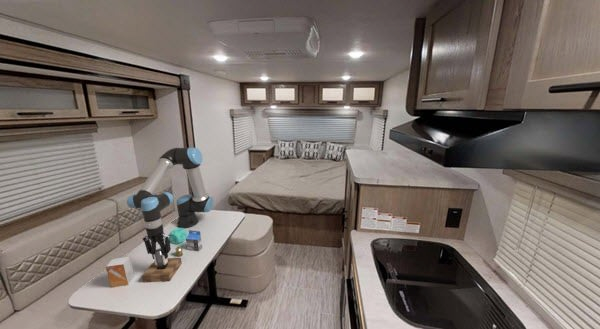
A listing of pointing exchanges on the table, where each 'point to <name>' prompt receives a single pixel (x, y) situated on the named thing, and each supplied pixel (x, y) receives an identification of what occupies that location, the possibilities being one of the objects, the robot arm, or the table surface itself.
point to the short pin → (179, 251)
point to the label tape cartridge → (194, 241)
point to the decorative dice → (178, 235)
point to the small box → (120, 271)
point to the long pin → (160, 259)
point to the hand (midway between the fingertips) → (161, 263)
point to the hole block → (162, 271)
